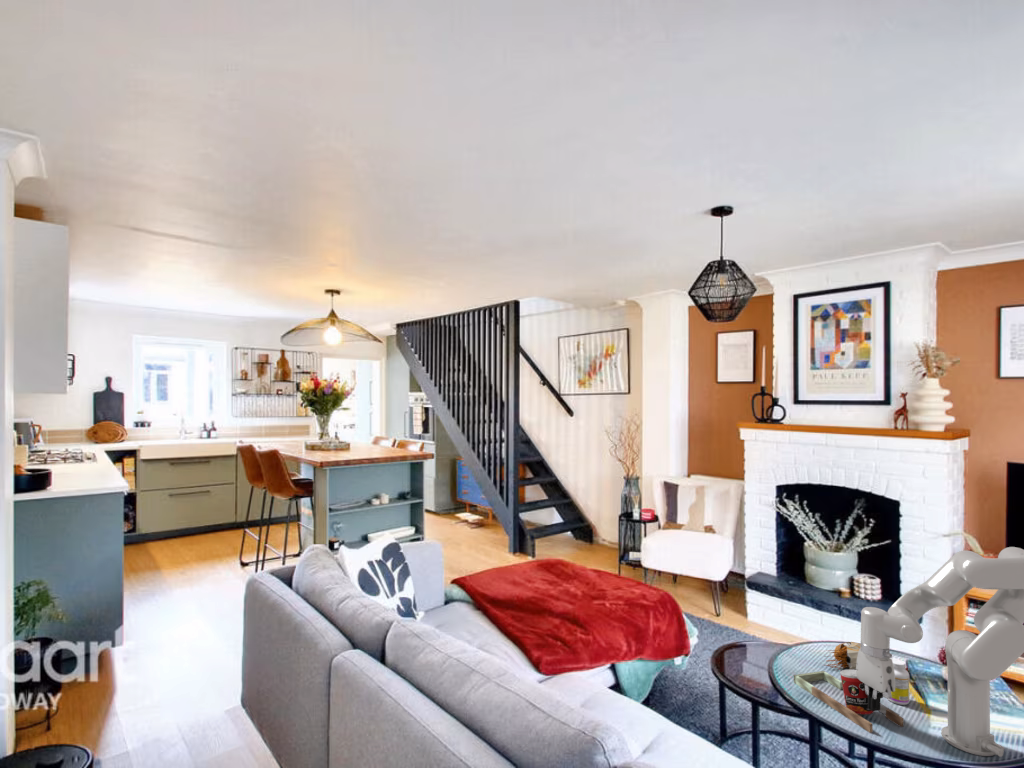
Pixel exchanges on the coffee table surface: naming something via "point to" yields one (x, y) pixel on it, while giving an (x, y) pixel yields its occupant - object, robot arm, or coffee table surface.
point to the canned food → (854, 692)
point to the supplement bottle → (900, 683)
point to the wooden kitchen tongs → (822, 675)
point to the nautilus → (846, 655)
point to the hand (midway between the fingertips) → (873, 709)
